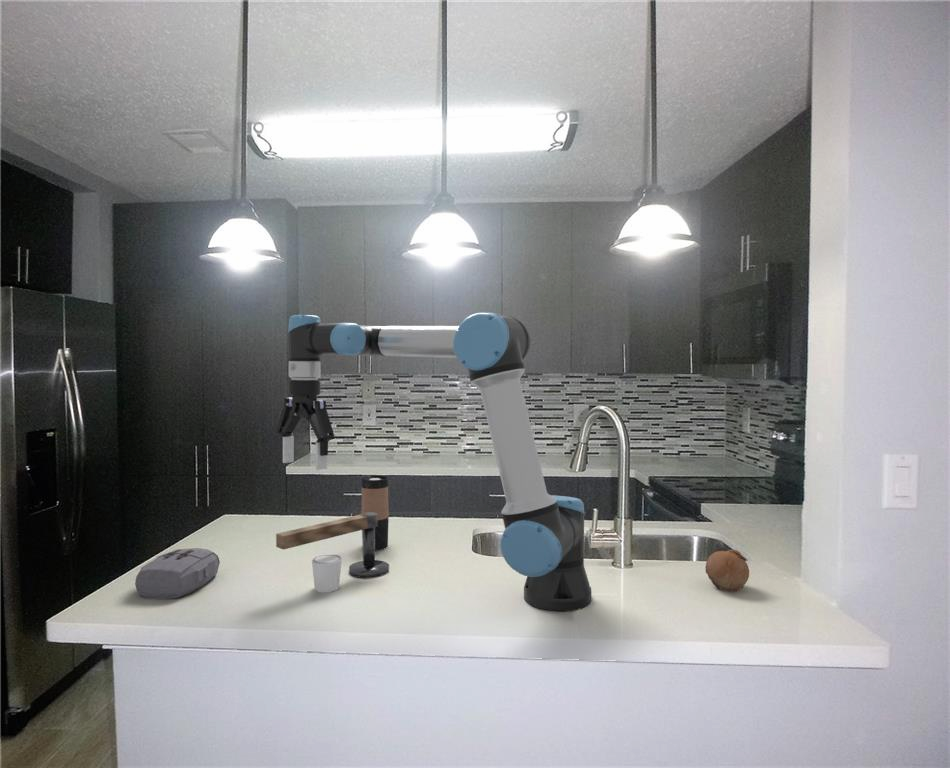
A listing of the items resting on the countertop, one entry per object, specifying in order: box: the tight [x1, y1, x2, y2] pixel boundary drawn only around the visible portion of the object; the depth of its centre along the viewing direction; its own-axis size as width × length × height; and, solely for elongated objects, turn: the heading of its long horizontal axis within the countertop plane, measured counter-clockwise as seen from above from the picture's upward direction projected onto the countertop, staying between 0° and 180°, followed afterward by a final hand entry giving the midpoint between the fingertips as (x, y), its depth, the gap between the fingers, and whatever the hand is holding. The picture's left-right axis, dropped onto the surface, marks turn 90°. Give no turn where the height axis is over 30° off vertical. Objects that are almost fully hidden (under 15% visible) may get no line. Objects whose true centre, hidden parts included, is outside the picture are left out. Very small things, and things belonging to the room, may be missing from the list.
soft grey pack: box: [134, 547, 221, 600], centre depth 148 cm, size 15×8×20 cm
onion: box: [705, 549, 750, 592], centre depth 145 cm, size 10×9×10 cm
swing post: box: [348, 528, 390, 579], centre depth 157 cm, size 10×10×11 cm
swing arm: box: [275, 512, 378, 550], centre depth 148 cm, size 27×4×3 cm, turn 138°
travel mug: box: [361, 474, 390, 551], centre depth 177 cm, size 8×8×20 cm
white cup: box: [311, 554, 342, 593], centre depth 146 cm, size 7×7×7 cm
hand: (304, 465), depth 151 cm, fingers open, 13 cm apart
